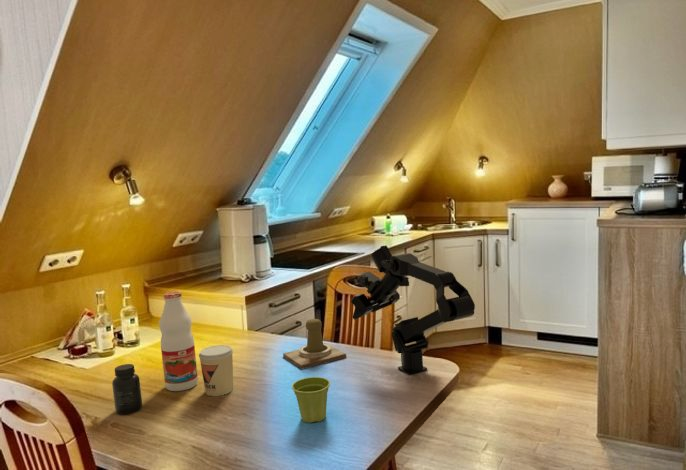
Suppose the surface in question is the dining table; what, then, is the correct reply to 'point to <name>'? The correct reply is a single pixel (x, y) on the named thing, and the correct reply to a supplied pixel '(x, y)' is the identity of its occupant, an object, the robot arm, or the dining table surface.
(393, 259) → the robot arm
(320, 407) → the plant pot
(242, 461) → the dining table surface
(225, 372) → the white canister
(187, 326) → the fruit juice
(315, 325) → the olive brown pestle
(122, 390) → the supplement bottle
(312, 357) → the ring board
